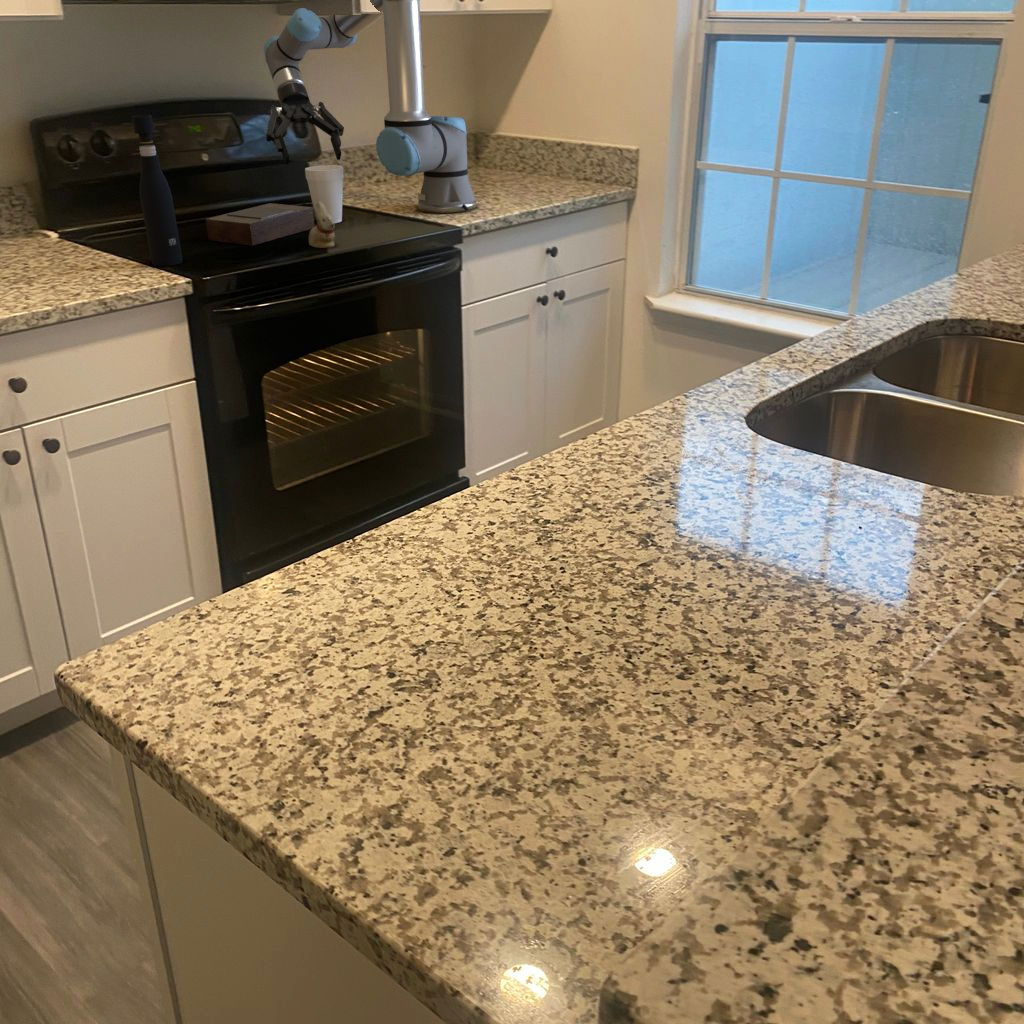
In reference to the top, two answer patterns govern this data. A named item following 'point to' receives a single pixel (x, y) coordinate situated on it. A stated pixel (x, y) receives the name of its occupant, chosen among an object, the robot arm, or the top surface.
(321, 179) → the foam cup
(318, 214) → the chocolate bunny
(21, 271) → the top surface
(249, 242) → the slotted wooden box
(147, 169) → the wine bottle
